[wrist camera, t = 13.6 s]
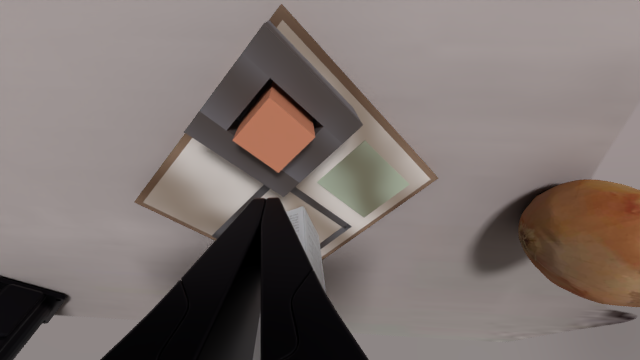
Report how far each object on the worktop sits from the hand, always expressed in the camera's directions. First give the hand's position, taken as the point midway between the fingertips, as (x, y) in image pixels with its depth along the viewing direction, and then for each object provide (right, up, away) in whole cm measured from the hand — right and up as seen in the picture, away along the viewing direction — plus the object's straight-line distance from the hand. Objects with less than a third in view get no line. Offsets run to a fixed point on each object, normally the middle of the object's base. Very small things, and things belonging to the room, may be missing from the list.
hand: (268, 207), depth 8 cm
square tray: (-1, +1, +13) cm, 13 cm away
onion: (+24, -1, +17) cm, 30 cm away
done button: (-1, +5, +7) cm, 9 cm away
